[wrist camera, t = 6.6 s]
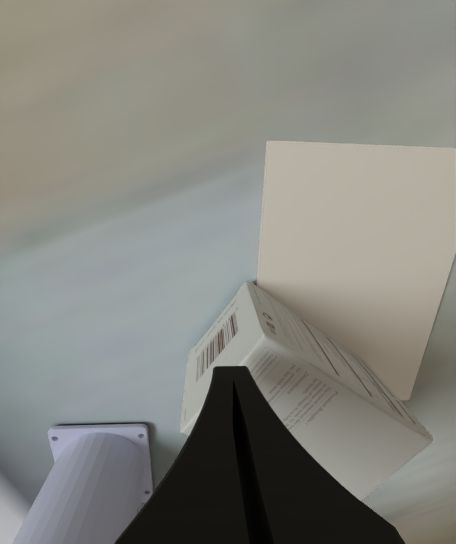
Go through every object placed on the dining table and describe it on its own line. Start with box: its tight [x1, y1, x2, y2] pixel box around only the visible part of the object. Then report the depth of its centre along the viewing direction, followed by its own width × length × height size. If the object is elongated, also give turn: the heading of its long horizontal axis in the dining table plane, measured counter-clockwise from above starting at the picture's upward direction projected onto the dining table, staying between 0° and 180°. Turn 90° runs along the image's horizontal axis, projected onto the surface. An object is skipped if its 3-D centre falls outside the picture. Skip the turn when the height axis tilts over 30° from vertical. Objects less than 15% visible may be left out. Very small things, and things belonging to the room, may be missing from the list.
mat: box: [257, 141, 456, 401], centre depth 21 cm, size 20×14×1 cm
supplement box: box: [180, 281, 433, 501], centre depth 18 cm, size 7×7×13 cm
